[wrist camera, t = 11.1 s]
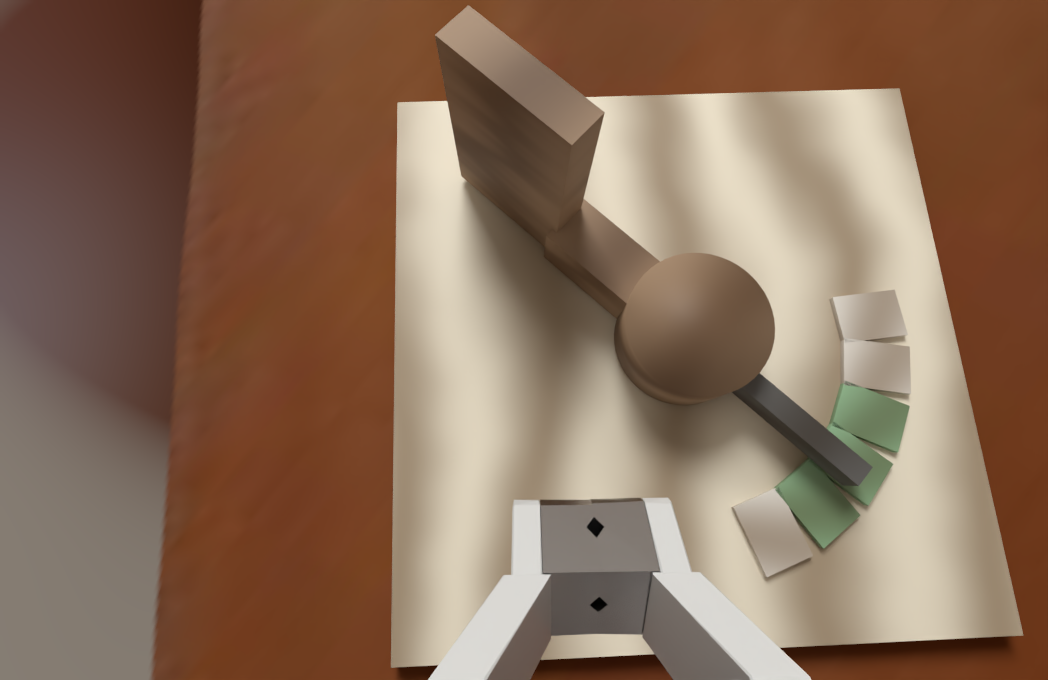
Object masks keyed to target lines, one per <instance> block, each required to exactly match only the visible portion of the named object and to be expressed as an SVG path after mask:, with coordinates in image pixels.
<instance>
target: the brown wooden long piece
mask: <svg viewBox="0 0 1048 680" xmlns="http://www.w3.org/2000/svg"><path fill="white" fill-rule="evenodd" d="M435 38H436V43H437V48H438V54H439V59H440V65H441V70H442V75H443V81H444V86H445V91H446V97H447V102H448V108H449V113H450V118H451V124H452V129H453V134H454V140H455V145H456V150H457V156H458V161H459V167H460V172H461V176H462V177H463V178H464V179H465V180H466V181H468V182H469V183H470V184H471V185H472V186H474V187H475V188H476V189H477V190H478V191H479V192H481V193H482V194H483V195H484V196H485V197H486V198H488V199H489V200H490V201H491V202H492V203H494V204H495V205H496V206H497V207H498V208H499V209H501V210H502V211H503V212H504V213H505V214H506V215H508V216H509V217H510V218H511V219H512V220H514V221H515V222H516V223H517V224H518V225H519V226H521V227H522V228H523V229H524V230H525V231H527V232H528V233H529V234H530V235H531V236H532V237H534V238H535V239H536V240H537V241H538V242H539V243H541V244H542V245H543V246H544V247H545V250H544V257H545V258H546V259H547V260H548V261H549V262H550V263H552V264H553V265H554V266H555V267H556V268H557V269H559V270H560V271H561V272H562V273H563V274H564V275H566V276H567V277H568V278H569V279H570V280H572V281H573V282H574V283H575V284H576V285H577V286H579V287H580V288H581V289H582V290H583V291H584V292H586V293H587V294H588V295H589V296H590V297H591V298H593V299H594V300H595V301H596V302H597V303H598V304H600V305H601V306H602V307H603V308H604V309H606V310H607V311H608V312H609V313H610V314H611V315H613V316H614V317H615V318H616V319H617V320H616V323H615V329H614V345H615V351H616V354H617V358H618V361H619V363H620V365H621V367H622V369H623V371H624V372H625V374H626V375H627V377H628V378H629V379H630V380H631V382H632V383H633V384H634V385H635V386H636V387H637V388H639V389H640V390H641V391H643V392H644V393H645V394H647V395H649V396H650V397H652V398H654V399H657V400H659V401H662V402H665V403H669V404H674V405H694V404H699V403H703V402H706V401H709V400H711V399H714V398H717V397H720V396H722V395H725V394H728V393H730V392H732V393H733V394H734V395H736V396H737V397H738V398H739V399H740V400H741V401H743V402H744V403H745V404H746V405H747V406H749V407H750V408H751V409H752V410H753V411H754V412H756V413H757V414H758V415H759V416H760V417H762V418H763V419H764V420H765V421H766V422H767V423H769V424H770V425H771V426H772V427H773V428H775V429H776V430H777V431H778V432H779V433H781V434H782V435H783V436H784V437H785V438H786V439H788V440H789V441H790V442H791V443H792V444H794V445H795V446H796V447H797V448H798V449H799V450H801V451H802V452H803V453H804V454H805V455H807V456H808V457H809V458H810V459H811V460H812V461H814V462H815V463H816V464H817V465H818V466H820V467H821V468H822V469H823V470H824V471H825V472H827V473H828V474H829V475H830V476H831V477H833V478H834V479H835V480H836V481H837V482H838V483H840V484H841V485H845V486H859V485H860V484H861V483H862V481H863V480H864V479H865V477H866V476H867V475H868V473H869V472H870V470H871V469H872V468H873V467H872V466H871V465H870V464H868V463H867V462H866V461H865V460H864V459H862V458H861V457H860V456H859V455H858V454H856V453H855V452H854V451H853V450H852V449H850V448H849V447H848V446H847V445H846V444H844V443H843V442H842V441H841V440H840V439H838V438H837V437H836V436H835V435H834V434H832V433H831V432H830V431H829V430H828V429H826V428H825V427H824V426H823V425H822V424H820V423H819V422H818V421H817V420H816V419H814V418H813V417H812V416H811V415H810V414H808V413H807V412H806V411H805V410H804V409H802V408H801V407H800V406H799V405H797V404H796V403H795V402H794V401H793V400H791V399H790V398H789V397H788V396H787V395H785V394H784V393H783V392H782V391H781V390H779V389H778V388H777V387H776V386H775V385H773V384H772V383H771V382H770V381H769V380H767V379H766V378H765V377H764V376H763V375H761V374H760V372H761V370H762V369H763V367H764V366H765V365H766V363H767V361H768V359H769V357H770V354H771V351H772V349H773V344H774V339H775V322H774V316H773V311H772V308H771V305H770V303H769V300H768V298H767V296H766V294H765V292H764V291H763V289H762V288H761V287H760V285H759V284H758V283H757V281H756V280H755V279H754V278H753V277H752V276H751V275H750V274H749V273H748V272H746V271H745V270H744V269H742V268H741V267H740V266H738V265H737V264H735V263H733V262H731V261H729V260H727V259H724V258H722V257H719V256H715V255H712V254H705V253H685V254H680V255H675V256H672V257H669V258H667V259H664V260H663V261H661V262H660V261H659V260H658V259H656V258H655V257H654V256H653V255H652V254H650V253H649V252H648V251H647V250H645V249H644V248H643V247H642V246H641V245H639V244H638V243H637V242H636V241H635V240H633V239H632V238H631V237H630V236H628V235H627V234H626V233H625V232H624V231H622V230H621V229H620V228H619V227H617V226H616V225H615V224H614V223H613V222H611V221H610V220H609V219H608V218H607V217H605V216H604V215H603V214H602V213H600V212H599V211H598V210H597V209H596V208H594V207H593V206H592V205H591V204H589V203H588V202H587V201H586V200H585V199H584V195H585V190H586V186H587V182H588V178H589V174H590V170H591V166H592V162H593V158H594V154H595V150H596V146H597V142H598V138H599V134H600V130H601V126H602V122H603V118H604V113H605V112H604V111H602V110H601V109H600V108H599V107H597V106H596V105H595V104H593V103H592V102H591V101H590V100H588V99H587V98H586V97H585V96H583V95H582V94H581V93H579V92H578V91H577V90H576V89H574V88H573V87H572V86H571V85H569V84H568V83H567V82H565V81H564V80H563V79H562V78H560V77H559V76H558V75H557V74H555V73H554V72H553V71H551V70H550V69H549V68H548V67H546V66H545V65H544V64H543V63H541V62H540V61H539V60H537V59H536V58H535V57H534V56H532V55H531V54H530V53H529V52H527V51H526V50H525V49H523V48H522V47H521V46H520V45H518V44H517V43H516V42H515V41H513V40H512V39H511V38H509V37H508V36H507V35H506V34H504V33H503V32H502V31H501V30H499V29H498V28H497V27H495V26H494V25H493V24H492V23H490V22H489V21H488V20H487V19H485V18H484V17H483V16H481V15H480V14H479V13H478V12H476V11H475V10H474V9H473V8H471V7H470V6H469V5H468V6H467V7H466V8H465V9H464V10H463V11H462V12H460V13H459V14H458V15H457V16H456V17H455V18H454V19H452V20H451V21H450V22H449V23H448V24H447V25H446V26H445V27H443V28H442V29H441V30H440V31H439V32H438V33H437V34H435Z"/></svg>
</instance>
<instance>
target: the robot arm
mask: <svg viewBox="0 0 1048 680" xmlns="http://www.w3.org/2000/svg"><path fill="white" fill-rule="evenodd" d="M584 634H634V635H643V636H642V637H643V639H644V640H645V641H646V643H647V644H648V645H649V647H650V648H651V650H652V651H653V652H654V654H655V655H656V656H657V658H658V659H659V660H660V662H661V663H662V665H663V666H664V667H665V669H666V670H667V671H668V673H669V674H670V675H671V677H672V678H673V680H811V678H810V676H809V675H807V674H806V673H805V672H804V671H803V670H802V669H801V668H800V667H799V666H798V665H797V664H796V663H795V662H794V661H793V660H792V659H791V658H790V657H789V656H788V655H787V654H786V653H784V652H783V651H782V650H781V649H780V648H779V647H778V646H777V645H776V644H775V643H774V642H773V641H772V640H771V639H770V638H769V637H768V636H767V635H766V634H765V633H764V632H763V631H761V630H760V629H759V628H758V627H757V626H756V625H755V624H754V623H753V622H752V621H751V620H750V619H749V618H748V617H747V616H746V615H745V614H744V613H743V612H742V611H741V610H740V609H738V608H737V607H736V606H735V605H734V604H733V603H732V602H731V601H730V600H729V599H728V598H727V597H726V596H725V595H724V594H723V593H722V592H721V591H720V590H719V589H718V588H717V587H715V586H714V585H713V584H712V583H711V582H710V581H709V580H708V579H707V578H706V577H705V576H704V575H703V574H702V573H701V572H692V569H691V566H690V563H689V559H688V556H687V552H686V549H685V546H684V542H683V539H682V536H681V532H680V529H679V526H678V522H677V519H676V515H675V512H674V509H673V505H672V502H671V501H670V499H669V498H642V499H641V498H614V499H590V500H540V502H539V500H514V501H513V507H512V557H511V575H503V576H502V578H501V579H500V580H499V582H498V583H497V585H496V586H495V587H494V589H493V590H492V592H491V593H490V594H489V596H488V597H487V598H486V600H485V601H484V603H483V604H482V605H481V607H480V608H479V610H478V611H477V612H476V614H475V615H474V617H473V618H472V619H471V621H470V622H469V623H468V625H467V626H466V628H465V629H464V630H463V632H462V633H461V635H460V636H459V637H458V639H457V640H456V641H455V643H454V644H453V646H452V647H451V648H450V650H449V651H448V653H447V654H446V655H445V657H444V658H443V660H442V661H441V662H440V664H439V665H438V666H437V668H436V669H435V671H434V672H433V673H432V675H431V676H430V678H429V679H428V680H530V679H531V677H532V675H533V673H534V671H535V669H536V667H537V665H538V663H539V661H540V659H541V658H542V656H543V654H544V652H545V650H546V648H547V646H548V644H549V642H550V640H551V636H560V635H584Z"/></svg>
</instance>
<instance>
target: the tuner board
mask: <svg viewBox="0 0 1048 680" xmlns="http://www.w3.org/2000/svg"><path fill="white" fill-rule="evenodd" d="M586 98H587V99H588V100H590V101H591V102H592V103H593V104H595V105H596V106H597V107H599V108H600V109H601V110H602V111H604V112H605V113H604V118H603V122H602V126H601V130H600V134H599V138H598V142H597V146H596V150H595V154H594V158H593V162H592V166H591V170H590V174H589V178H588V182H587V186H586V190H585V195H584V199H585V200H586V201H587V202H588V203H589V204H591V205H592V206H593V207H594V208H596V209H597V210H598V211H599V212H600V213H602V214H603V215H604V216H605V217H607V218H608V219H609V220H610V221H611V222H613V223H614V224H615V225H616V226H617V227H619V228H620V229H621V230H622V231H624V232H625V233H626V234H627V235H628V236H630V237H631V238H632V239H633V240H635V241H636V242H637V243H638V244H639V245H641V246H642V247H643V248H644V249H645V250H647V251H648V252H649V253H650V254H652V255H653V256H654V257H655V258H656V259H658V260H659V261H660V262H661V261H663V260H664V259H667V258H669V257H672V256H675V255H680V254H685V253H705V254H712V255H715V256H719V257H722V258H724V259H727V260H729V261H731V262H733V263H735V264H737V265H738V266H740V267H741V268H742V269H744V270H745V271H746V272H748V273H749V274H750V275H751V276H752V277H753V278H754V279H755V280H756V281H757V283H758V284H759V285H760V287H761V288H762V289H763V291H764V292H765V294H766V296H767V298H768V300H769V303H770V305H771V308H772V311H773V316H774V322H775V339H774V344H773V349H772V351H771V354H770V357H769V359H768V361H767V363H766V365H765V366H764V367H763V369H762V370H761V372H760V374H761V375H763V376H764V377H765V378H766V379H767V380H769V381H770V382H771V383H772V384H773V385H775V386H776V387H777V388H778V389H779V390H781V391H782V392H783V393H784V394H785V395H787V396H788V397H789V398H790V399H791V400H793V401H794V402H795V403H796V404H797V405H799V406H800V407H801V408H802V409H804V410H805V411H806V412H807V413H808V414H810V415H811V416H812V417H813V418H814V419H816V420H817V421H818V422H819V423H820V424H822V425H823V426H824V427H825V428H826V429H828V430H829V431H830V432H831V433H832V434H834V435H835V436H836V437H837V438H838V439H840V440H841V441H842V442H843V443H844V444H846V445H847V446H848V447H849V448H850V449H852V450H853V451H854V452H855V453H856V454H858V455H859V456H860V457H861V458H862V459H864V460H865V461H866V462H867V463H868V464H870V465H871V466H872V467H873V468H872V469H871V470H870V472H869V473H868V475H867V476H866V477H865V479H864V480H863V481H862V483H861V484H860V485H859V486H845V485H841V484H840V483H838V482H837V481H836V480H835V479H834V478H833V477H831V476H830V475H829V474H828V473H827V472H825V471H824V470H823V469H822V468H821V467H820V466H818V465H817V464H816V463H815V462H814V461H812V460H811V459H810V458H809V457H808V456H807V455H805V454H804V453H803V452H802V451H801V450H799V449H798V448H797V447H796V446H795V445H794V444H792V443H791V442H790V441H789V440H788V439H786V438H785V437H784V436H783V435H782V434H781V433H779V432H778V431H777V430H776V429H775V428H773V427H772V426H771V425H770V424H769V423H767V422H766V421H765V420H764V419H763V418H762V417H760V416H759V415H758V414H757V413H756V412H754V411H753V410H752V409H751V408H750V407H749V406H747V405H746V404H745V403H744V402H743V401H741V400H740V399H739V398H738V397H737V396H736V395H734V394H733V393H732V392H730V393H728V394H725V395H722V396H720V397H717V398H714V399H711V400H709V401H706V402H703V403H699V404H694V405H674V404H669V403H665V402H662V401H659V400H657V399H654V398H652V397H650V396H649V395H647V394H645V393H644V392H643V391H641V390H640V389H639V388H637V387H636V386H635V385H634V384H633V383H632V382H631V380H630V379H629V378H628V377H627V375H626V374H625V372H624V371H623V369H622V367H621V365H620V363H619V361H618V358H617V354H616V351H615V345H614V329H615V323H616V320H617V319H616V318H615V317H614V316H613V315H611V314H610V313H609V312H608V311H607V310H606V309H604V308H603V307H602V306H601V305H600V304H598V303H597V302H596V301H595V300H594V299H593V298H591V297H590V296H589V295H588V294H587V293H586V292H584V291H583V290H582V289H581V288H580V287H579V286H577V285H576V284H575V283H574V282H573V281H572V280H570V279H569V278H568V277H567V276H566V275H564V274H563V273H562V272H561V271H560V270H559V269H557V268H556V267H555V266H554V265H553V264H552V263H550V262H549V261H548V260H547V259H546V258H545V257H544V250H545V247H544V246H543V245H542V244H541V243H539V242H538V241H537V240H536V239H535V238H534V237H532V236H531V235H530V234H529V233H528V232H527V231H525V230H524V229H523V228H522V227H521V226H519V225H518V224H517V223H516V222H515V221H514V220H512V219H511V218H510V217H509V216H508V215H506V214H505V213H504V212H503V211H502V210H501V209H499V208H498V207H497V206H496V205H495V204H494V203H492V202H491V201H490V200H489V199H488V198H486V197H485V196H484V195H483V194H482V193H481V192H479V191H478V190H477V189H476V188H475V187H474V186H472V185H471V184H470V183H469V182H468V181H466V180H465V179H464V178H463V177H462V176H461V172H460V167H459V161H458V156H457V150H456V145H455V140H454V134H453V129H452V124H451V118H450V113H449V108H448V102H447V101H435V102H399V103H398V110H397V196H396V282H395V368H394V454H393V540H392V626H391V668H393V667H413V666H433V665H439V664H440V662H441V661H442V660H443V658H444V657H445V655H446V654H447V653H448V651H449V650H450V648H451V647H452V646H453V644H454V643H455V641H456V640H457V639H458V637H459V636H460V635H461V633H462V632H463V630H464V629H465V628H466V626H467V625H468V623H469V622H470V621H471V619H472V618H473V617H474V615H475V614H476V612H477V611H478V610H479V608H480V607H481V605H482V604H483V603H484V601H485V600H486V598H487V597H488V596H489V594H490V593H491V592H492V590H493V589H494V587H495V586H496V585H497V583H498V582H499V580H500V579H501V578H502V576H503V575H511V557H512V507H513V501H514V500H539V502H540V500H590V499H614V498H641V499H642V498H669V499H670V501H671V502H672V505H673V509H674V512H675V515H676V519H677V522H678V526H679V529H680V532H681V536H682V539H683V542H684V546H685V549H686V552H687V556H688V559H689V563H690V566H691V569H692V572H701V573H702V574H703V575H704V576H705V577H706V578H707V579H708V580H709V581H710V582H711V583H712V584H713V585H714V586H715V587H717V588H718V589H719V590H720V591H721V592H722V593H723V594H724V595H725V596H726V597H727V598H728V599H729V600H730V601H731V602H732V603H733V604H734V605H735V606H736V607H737V608H738V609H740V610H741V611H742V612H743V613H744V614H745V615H746V616H747V617H748V618H749V619H750V620H751V621H752V622H753V623H754V624H755V625H756V626H757V627H758V628H759V629H760V630H761V631H763V632H764V633H765V634H766V635H767V636H768V637H769V638H770V639H771V640H772V641H773V642H774V643H775V644H776V645H777V646H778V647H779V648H785V647H805V646H824V645H844V644H864V643H883V642H903V641H922V640H942V639H962V638H981V637H1001V636H1020V635H1023V632H1022V627H1021V623H1020V618H1019V614H1018V610H1017V605H1016V601H1015V596H1014V592H1013V588H1012V583H1011V579H1010V574H1009V570H1008V565H1007V561H1006V557H1005V552H1004V548H1003V543H1002V539H1001V535H1000V530H999V526H998V521H997V517H996V513H995V508H994V504H993V499H992V495H991V491H990V486H989V482H988V477H987V473H986V468H985V464H984V460H983V455H982V451H981V446H980V442H979V438H978V433H977V429H976V424H975V420H974V416H973V411H972V407H971V402H970V398H969V394H968V389H967V385H966V380H965V376H964V371H963V367H962V363H961V358H960V354H959V349H958V345H957V341H956V336H955V332H954V327H953V323H952V319H951V314H950V310H949V305H948V301H947V297H946V292H945V288H944V283H943V279H942V274H941V270H940V266H939V261H938V257H937V252H936V248H935V244H934V239H933V235H932V230H931V226H930V222H929V217H928V213H927V208H926V204H925V199H924V195H923V191H922V186H921V182H920V177H919V173H918V169H917V164H916V160H915V155H914V151H913V147H912V142H911V138H910V133H909V129H908V125H907V120H906V116H905V111H904V107H903V102H902V98H901V94H900V89H866V90H830V91H794V92H758V93H722V94H686V95H650V96H614V97H586ZM642 636H643V635H634V634H584V635H560V636H551V640H550V642H549V644H548V646H547V648H546V650H545V652H544V654H543V656H542V658H541V659H540V660H550V659H570V658H589V657H609V656H629V655H648V654H654V652H653V651H652V650H651V648H650V647H649V645H648V644H647V643H646V641H645V640H644V639H643V637H642Z"/></svg>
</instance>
